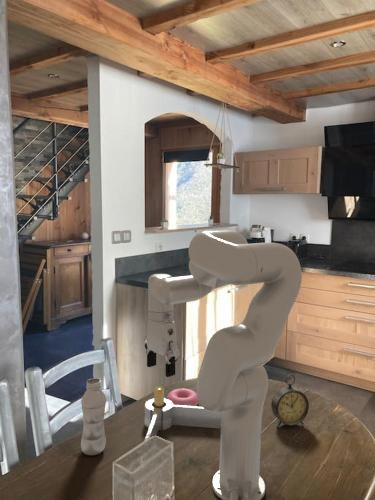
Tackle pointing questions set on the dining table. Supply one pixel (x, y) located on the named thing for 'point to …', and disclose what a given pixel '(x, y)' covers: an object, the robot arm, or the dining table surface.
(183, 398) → the doughnut
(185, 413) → the hinge
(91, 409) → the plastic bottle
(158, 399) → the hinge pin
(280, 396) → the alarm clock
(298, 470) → the dining table surface
